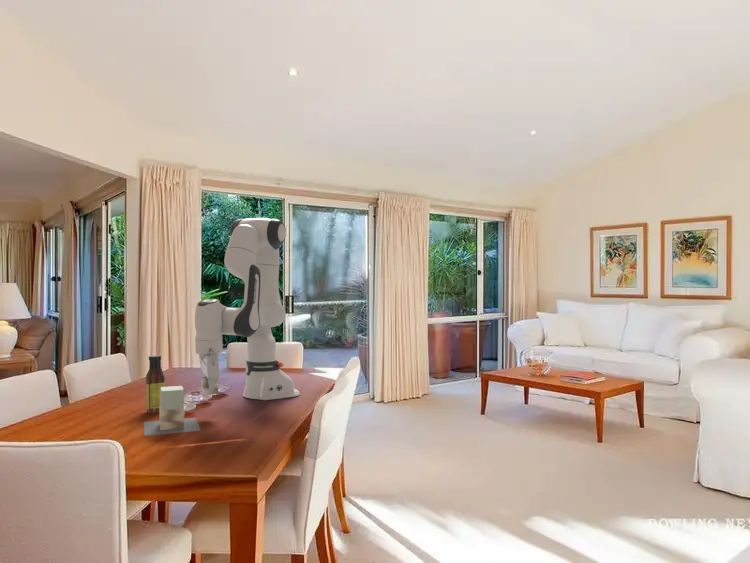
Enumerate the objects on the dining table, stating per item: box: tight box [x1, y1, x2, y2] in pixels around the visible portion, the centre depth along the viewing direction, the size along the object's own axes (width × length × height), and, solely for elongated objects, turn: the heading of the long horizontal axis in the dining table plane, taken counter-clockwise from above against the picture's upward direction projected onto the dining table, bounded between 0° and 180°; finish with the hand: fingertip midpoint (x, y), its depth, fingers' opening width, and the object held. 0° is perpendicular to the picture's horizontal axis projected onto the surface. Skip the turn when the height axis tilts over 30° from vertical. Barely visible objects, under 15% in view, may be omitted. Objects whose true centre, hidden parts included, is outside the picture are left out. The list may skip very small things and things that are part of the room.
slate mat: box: [143, 417, 201, 437], centre depth 171 cm, size 16×16×1 cm
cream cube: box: [200, 376, 220, 396], centre depth 183 cm, size 5×5×5 cm
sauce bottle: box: [145, 354, 166, 414], centre depth 190 cm, size 7×6×20 cm
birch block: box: [158, 406, 185, 430], centre depth 171 cm, size 7×7×6 cm
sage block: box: [160, 385, 185, 411], centre depth 171 cm, size 6×6×6 cm
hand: (210, 387), depth 183 cm, fingers closed on cream cube, 5 cm apart
